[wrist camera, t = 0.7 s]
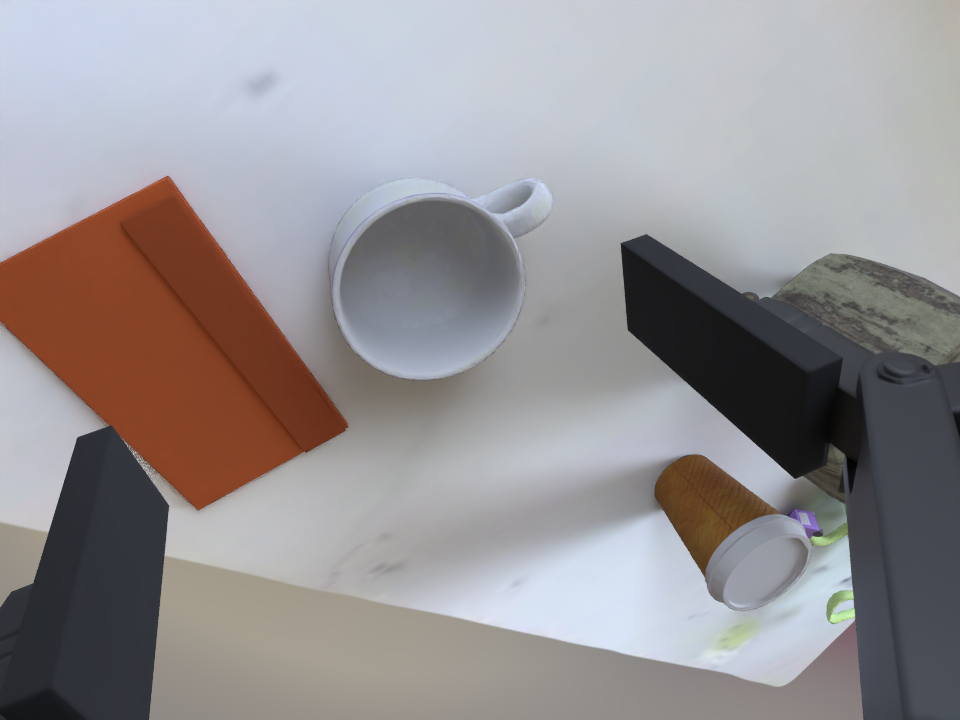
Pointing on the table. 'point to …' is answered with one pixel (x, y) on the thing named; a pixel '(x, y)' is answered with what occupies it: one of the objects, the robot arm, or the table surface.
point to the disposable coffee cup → (732, 534)
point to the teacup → (432, 273)
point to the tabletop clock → (874, 320)
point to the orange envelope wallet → (167, 344)
